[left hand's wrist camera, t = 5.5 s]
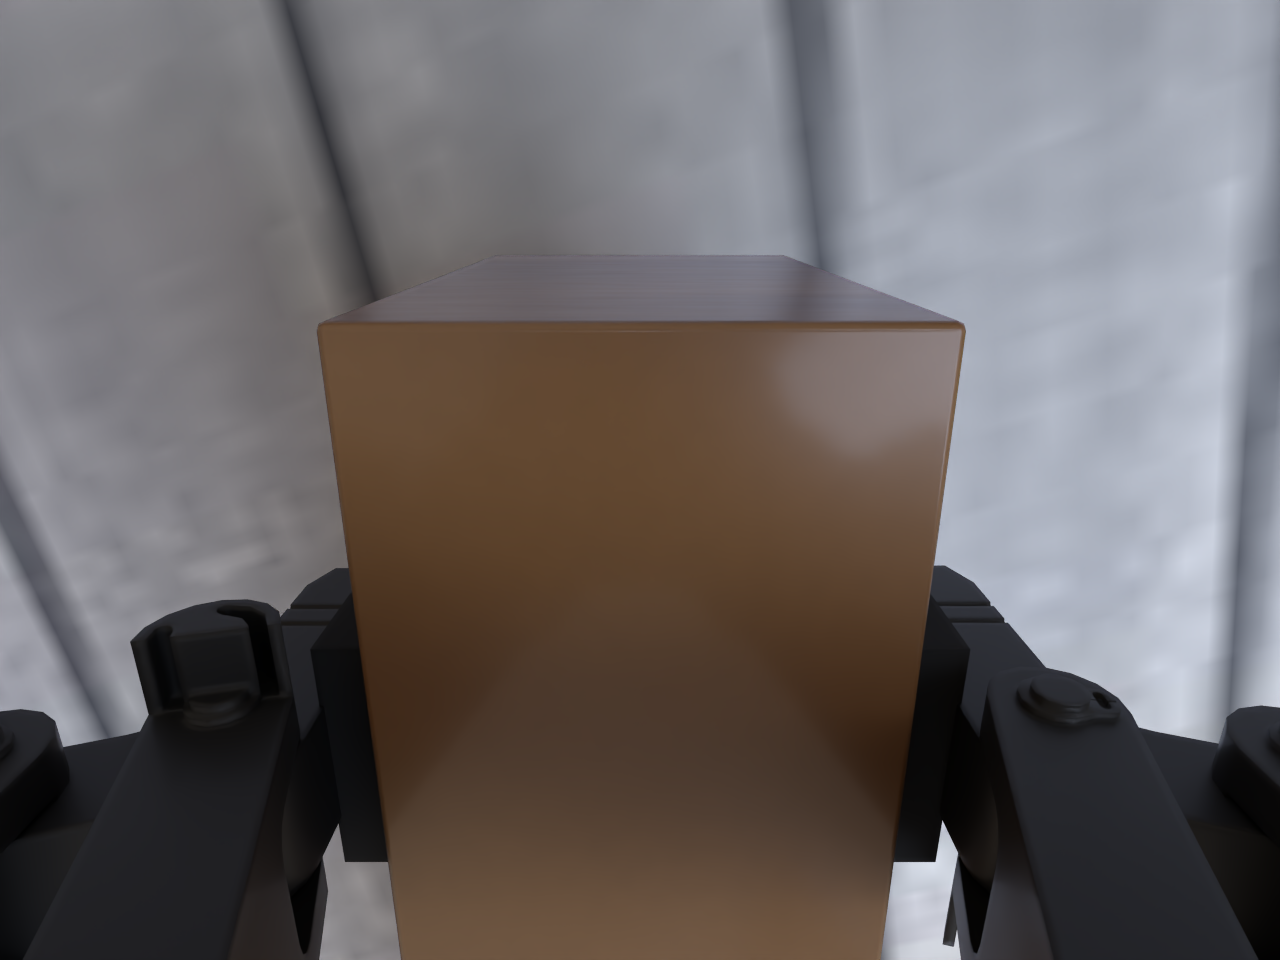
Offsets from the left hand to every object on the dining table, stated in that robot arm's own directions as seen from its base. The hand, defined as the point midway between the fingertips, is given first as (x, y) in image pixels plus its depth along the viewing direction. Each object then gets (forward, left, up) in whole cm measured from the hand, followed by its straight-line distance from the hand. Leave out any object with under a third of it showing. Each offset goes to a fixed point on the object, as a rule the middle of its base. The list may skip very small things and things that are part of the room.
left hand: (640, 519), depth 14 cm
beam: (+24, +10, -1) cm, 26 cm away
